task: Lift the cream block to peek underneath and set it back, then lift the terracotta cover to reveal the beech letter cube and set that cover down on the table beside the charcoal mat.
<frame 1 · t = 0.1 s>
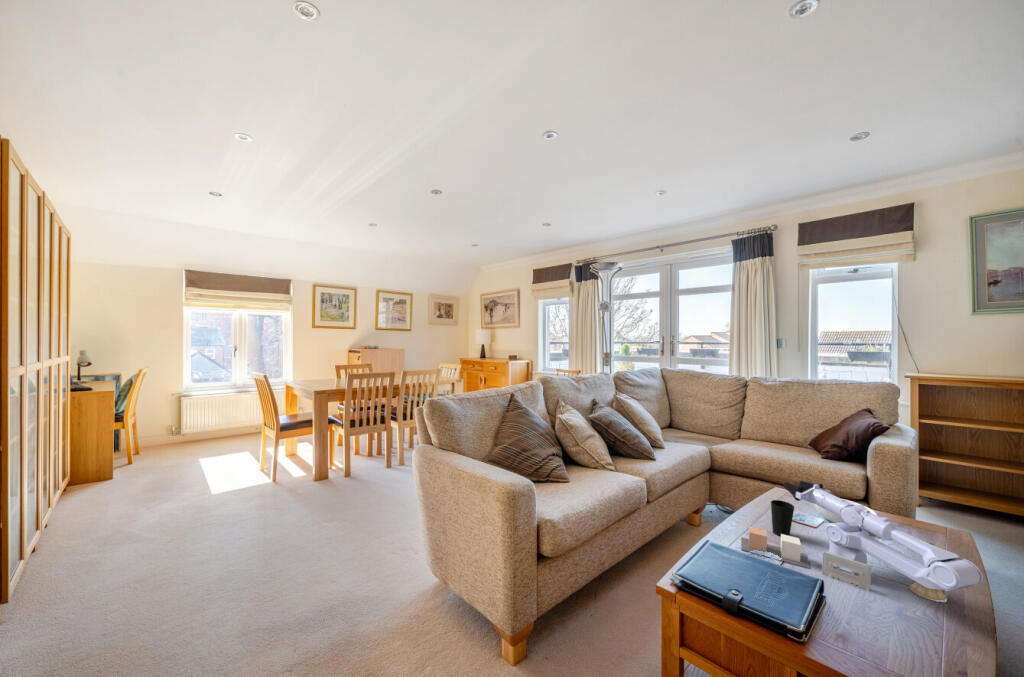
hand: (792, 484, 153), 22 cm above the table, tool horizontal, fingers open, 7 cm apart
cup: (780, 534, 157), on the table
serving bowl: (843, 522, 169), on the table
charcoal mat: (773, 552, 143), on the table
letter cube: (757, 541, 146), in the terracotta cover, touching charcoal mat
terracotta cover: (757, 539, 146), on the charcoal mat
cream block: (789, 555, 141), resting on charcoal mat
hand bell: (928, 594, 123), on the table
cassette: (845, 582, 127), on the table
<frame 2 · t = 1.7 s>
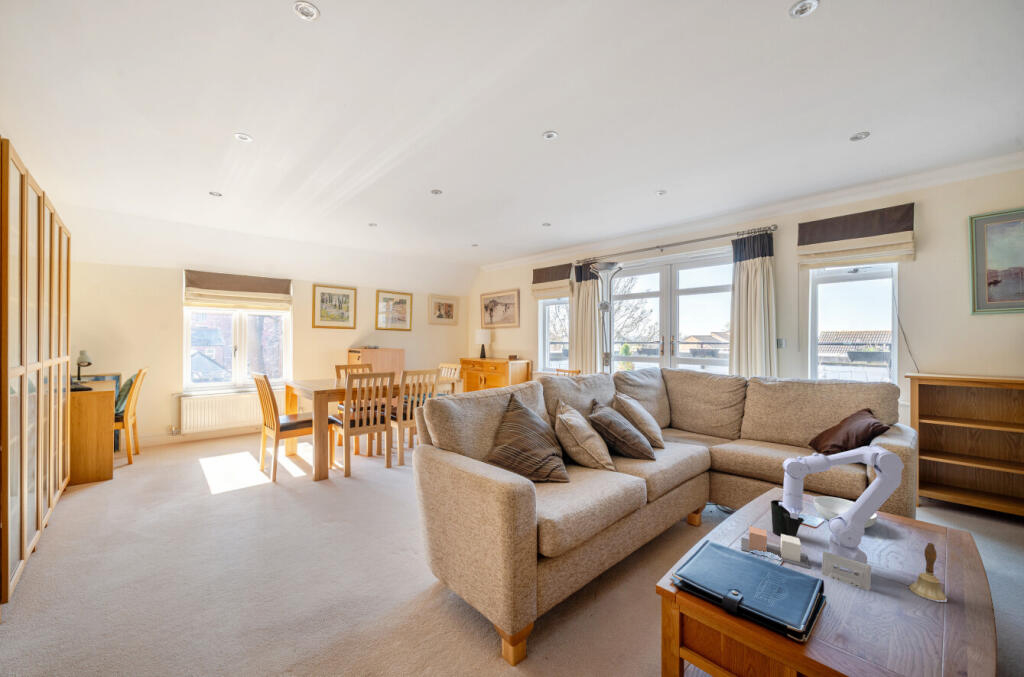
hand: (791, 530, 140), 9 cm above the table, tool pointing down, fingers open, 7 cm apart
nothing on the table moved.
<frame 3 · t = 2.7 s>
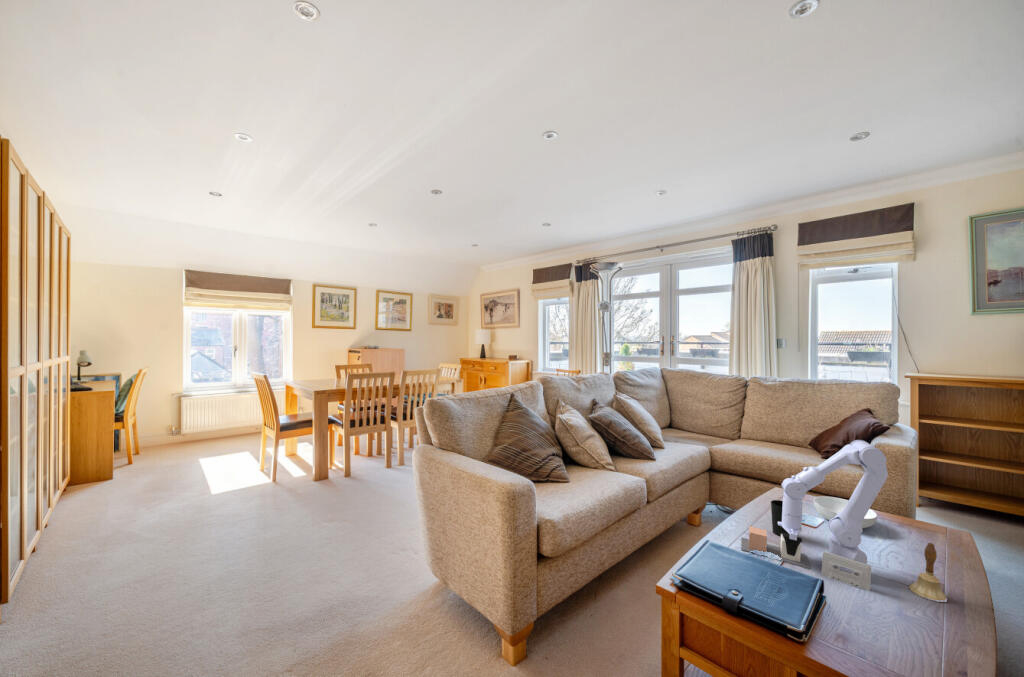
hand: (790, 550, 141), 2 cm above the table, tool pointing down, fingers closed on cream block, 5 cm apart
cream block: (789, 555, 141), resting on charcoal mat, touching gripper
everything else where it was.
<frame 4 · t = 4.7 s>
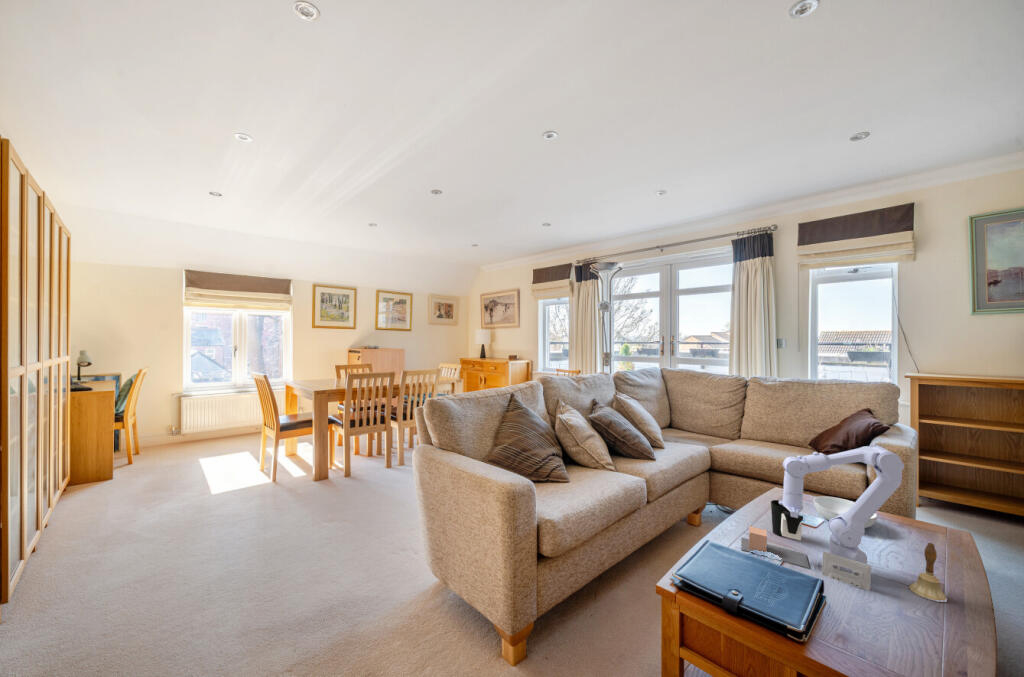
hand: (791, 529, 140), 10 cm above the table, tool pointing down, fingers closed on cream block, 5 cm apart
cream block: (790, 534, 140), point 8 cm above the table, touching gripper
everything else where it was.
when the fingers open (3 cm above the table, at t = 6.9 s): cream block stays where it is, resting on charcoal mat.
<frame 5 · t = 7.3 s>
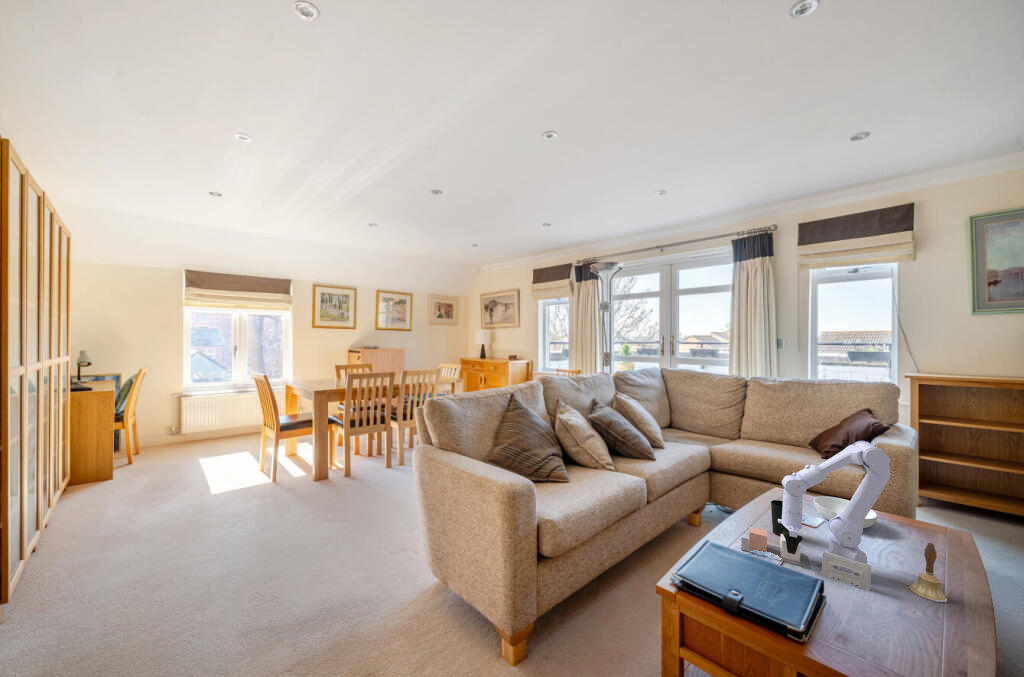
hand: (790, 548, 141), 3 cm above the table, tool pointing down, fingers open, 7 cm apart
cream block: (789, 555, 141), resting on charcoal mat
everything else where it was.
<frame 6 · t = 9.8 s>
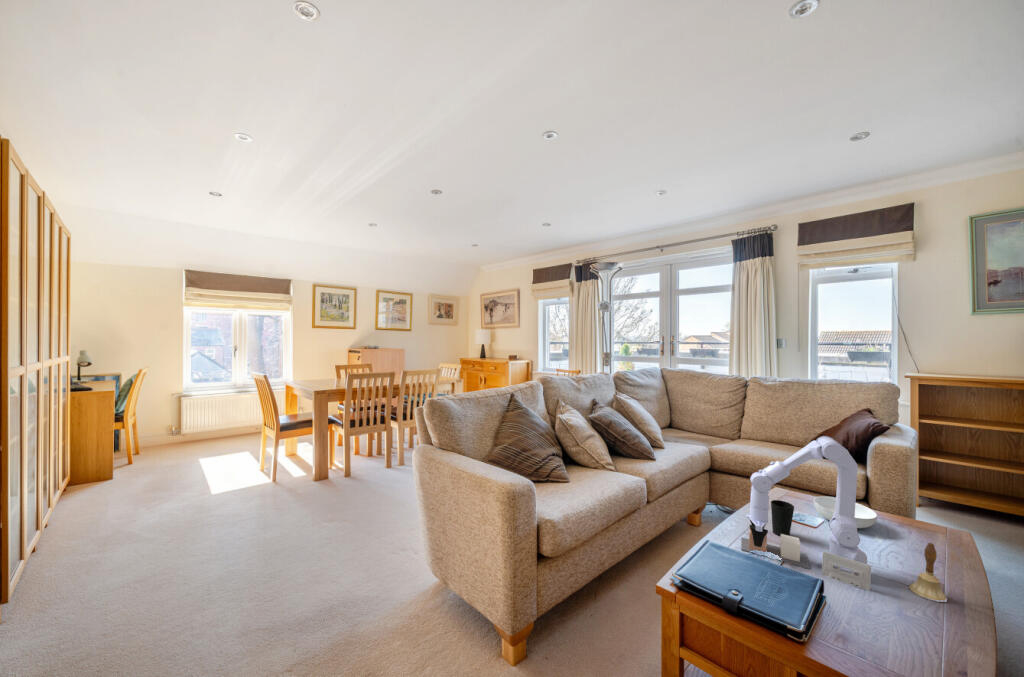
hand: (757, 542, 146), 2 cm above the table, tool pointing down, fingers closed on terracotta cover, 5 cm apart
terracotta cover: (757, 539, 146), on the charcoal mat, touching gripper
everything else where it was.
when the fingers open (3 cm above the table, at t = 14.5 s): terracotta cover stays where it is, on the table.
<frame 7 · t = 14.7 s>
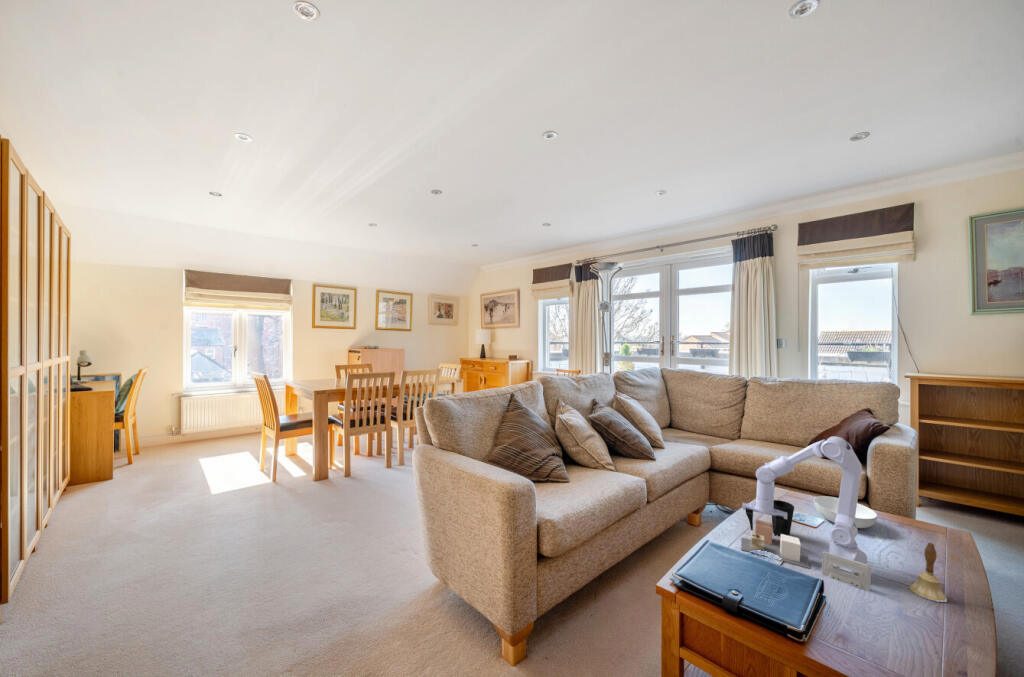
hand: (763, 532, 152), 3 cm above the table, tool pointing down, fingers open, 7 cm apart
terracotta cover: (763, 531, 152), on the table
everything else where it was.
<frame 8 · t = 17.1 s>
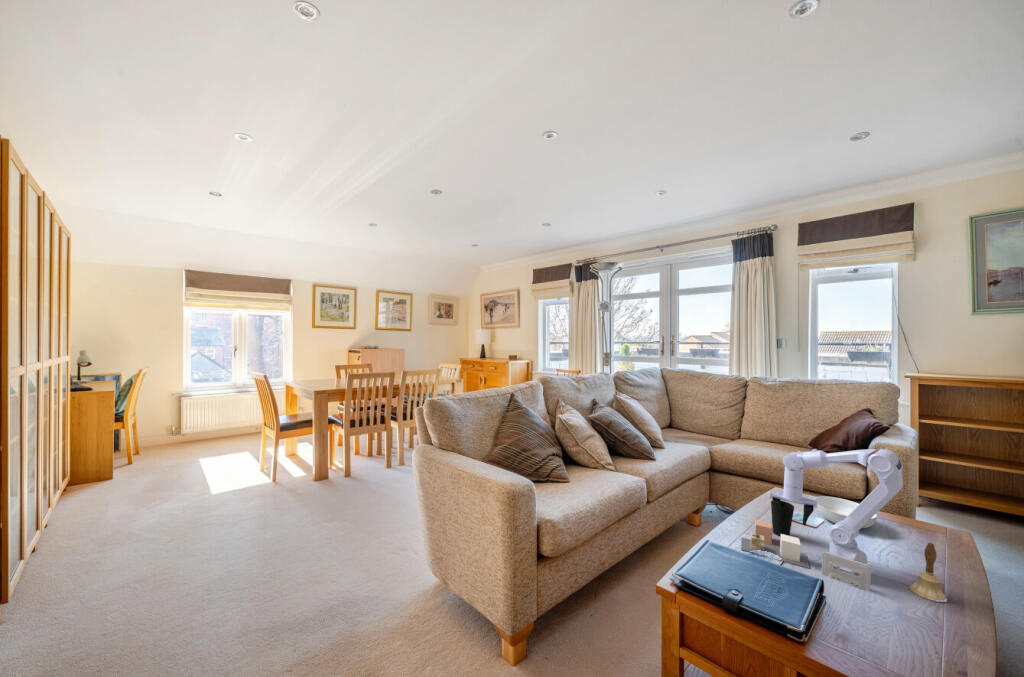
hand: (791, 521, 147), 10 cm above the table, tool pointing down, fingers open, 7 cm apart
nothing on the table moved.
at the end: terracotta cover 0.1 cm from the target spot, on the table; terracotta cover tilted 0°; cream block 0.1 cm from the target spot, resting on charcoal mat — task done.
